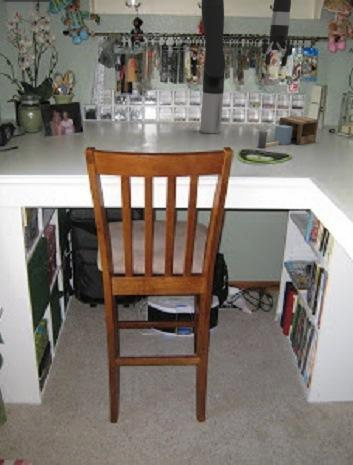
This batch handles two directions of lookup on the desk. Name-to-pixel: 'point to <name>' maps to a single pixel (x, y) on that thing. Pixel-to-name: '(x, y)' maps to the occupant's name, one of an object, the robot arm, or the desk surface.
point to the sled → (277, 136)
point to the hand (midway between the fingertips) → (275, 65)
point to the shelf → (301, 128)
